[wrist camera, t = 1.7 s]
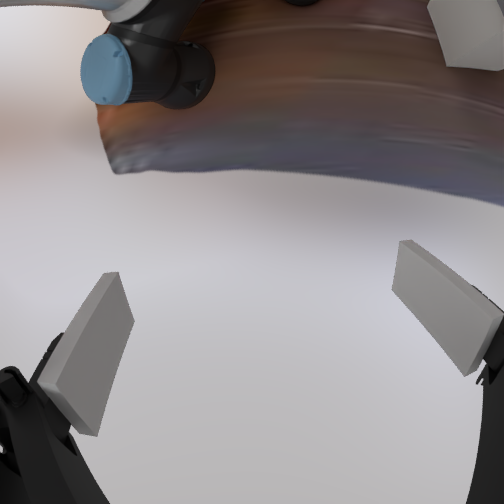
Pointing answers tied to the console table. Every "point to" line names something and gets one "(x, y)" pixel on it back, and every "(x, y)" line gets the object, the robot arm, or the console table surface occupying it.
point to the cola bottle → (301, 2)
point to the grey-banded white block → (470, 32)
